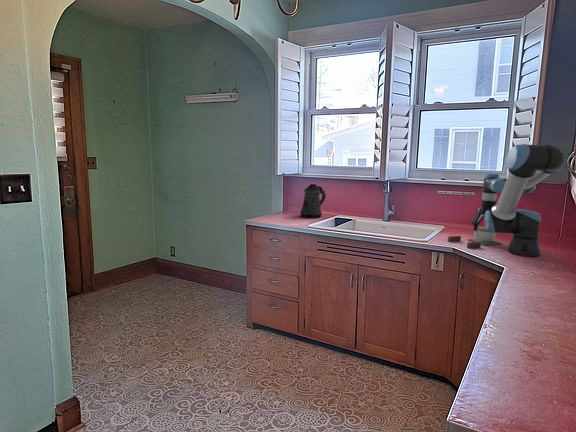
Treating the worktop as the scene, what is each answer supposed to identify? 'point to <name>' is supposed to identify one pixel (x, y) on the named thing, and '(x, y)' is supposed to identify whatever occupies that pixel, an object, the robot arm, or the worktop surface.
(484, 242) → the rubber mat
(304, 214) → the dark grey tall jug
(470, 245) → the pot cradle
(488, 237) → the lidded jar
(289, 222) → the worktop surface
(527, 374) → the worktop surface
